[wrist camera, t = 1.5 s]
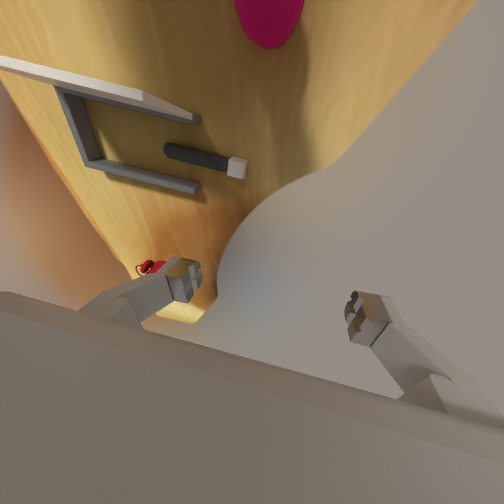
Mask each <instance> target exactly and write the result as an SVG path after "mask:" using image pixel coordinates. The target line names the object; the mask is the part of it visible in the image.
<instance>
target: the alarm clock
mask: <svg viewBox="0 0 504 504" xmlns="http://www.w3.org/2000/svg"><path fill="white" fill-rule="evenodd" d="M150 262H151V260H147V261H146V262H144V264H141V265H137V266H141V269H140V271H141V272H142V273H145V272H146V273H147V274H150V273H155V272H156V271H157V270H159V269H160V268H161V267H162V266H163V265H164V264H165V263H166V262H165V261H158V262H155V263H154V264H153V265H152V269H151V271H150V270H148V269H149V267H150V266H151V265H150V264H149V263H150ZM137 266H136V271H137ZM147 270H148V271H150V272H147ZM137 273H138V271H137ZM138 274H139V273H138ZM147 274H146V275H147ZM139 275H140V274H139ZM140 276H142V275H140Z"/></svg>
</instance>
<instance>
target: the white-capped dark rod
mask: <svg viewBox="0 0 504 504" xmlns="http://www.w3.org/2000/svg"><path fill="white" fill-rule="evenodd" d="M163 150H164V153H165V155H166V156H167V157H169V158H172V159H176V160H180V161H184V162H188V163H192V164H196V165H200V166H204V167H207V168H211V169H215V170H219V171H223V172H227V176H231V177H235V178H239V179H243V178H244V176H245V174H246V167H247V161H248V160H244V159H240V158H236V157H231V158H230V159H228V158H227V157H224V156H220V155H216V154H212V153H208V152H204V151H200V150H196V149H192V148H188V147H184V146H180V145H176V144H172V143H167V144H165V145H164V148H163Z"/></svg>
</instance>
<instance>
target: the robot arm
mask: <svg viewBox="0 0 504 504" xmlns="http://www.w3.org/2000/svg"><path fill="white" fill-rule="evenodd" d="M200 267H201V265H200V262H199V261H196V260H191V259H186V258H181V257H176V256H174V257H172V258H170V259H169V260H168V261H167V262H166V263H165V264H164V265H163V266H162V267H161V268H160V269H159V270H157V271H156V272H155V273H150V274H147V275H145V276H142V277H139V278H137V279H134V280H131V281H129V282H126V283H123V284H121V285H118V286H115V287H113V288H110V289H107V290H105V291H102V292H101V293H100V294H99V295H97V296H96V297H95V298H93V299H92V300H91V301H89V302H88V303H87V304H86V305H84V306H83V307H82V308H81V309H79V310H78V311H76V310H72V309H69V308H65V307H62V306H58V305H54V304H51V303H47V302H44V301H40V300H37V299H33V298H29V297H26V296H22V295H19V294H15V293H12V292H0V504H504V415H503V414H502V412H501V411H500V410H499V408H498V407H497V405H496V404H495V403H494V401H493V400H492V398H491V397H490V396H489V394H488V393H487V391H486V390H485V389H484V387H483V386H482V385H481V384H480V383H479V382H478V381H477V380H475V379H474V378H473V377H471V376H470V375H469V374H468V373H467V372H465V371H464V370H463V369H462V368H460V367H459V366H458V365H457V364H456V363H454V362H453V361H452V360H451V359H450V358H448V357H447V356H446V355H444V354H443V353H442V352H441V351H440V350H438V349H437V348H436V347H435V346H433V345H432V344H431V343H430V342H429V341H427V340H426V339H425V338H424V337H422V336H421V335H420V334H419V333H418V332H416V331H415V330H414V329H413V328H411V327H408V326H407V325H406V323H405V321H404V320H403V317H402V316H401V314H400V312H399V310H398V308H397V306H396V305H395V303H394V301H393V299H392V298H391V297H390V296H384V295H376V294H371V293H366V292H360V291H354V292H352V294H351V299H352V300H351V301H349V302H347V305H346V307H345V320H346V322H347V323H348V324H349V327H348V334H349V338H350V342H353V343H357V344H361V345H364V346H368V347H370V348H371V350H372V351H373V352H374V354H375V355H376V356H377V358H378V359H379V360H380V362H381V363H382V364H383V365H384V367H385V368H386V369H387V371H388V372H389V373H390V375H391V376H392V377H393V378H394V380H395V381H396V382H397V384H398V385H399V386H400V388H401V389H402V390H403V392H404V393H405V394H403V395H402V396H401V397H399V398H398V399H393V398H390V397H386V396H383V395H379V394H375V393H372V392H368V391H364V390H361V389H357V388H354V387H350V386H346V385H343V384H339V383H336V382H332V381H328V380H325V379H321V378H318V377H314V376H310V375H307V374H303V373H300V372H296V371H292V370H289V369H285V368H281V367H278V366H274V365H271V364H267V363H263V362H260V361H256V360H252V359H249V358H245V357H242V356H238V355H234V354H231V353H227V352H224V351H220V350H216V349H213V348H209V347H206V346H202V345H198V344H195V343H191V342H188V341H184V340H180V339H177V338H173V337H169V336H166V335H162V334H159V333H155V332H151V331H148V330H144V329H143V327H142V325H141V323H140V322H141V321H143V320H145V319H146V318H148V317H150V316H151V315H152V314H154V313H156V312H157V311H159V310H161V309H162V308H164V307H165V306H167V305H169V304H170V303H172V302H173V301H178V302H183V303H188V302H189V301H190V299H191V298H192V296H193V295H194V292H193V291H194V290H196V289H198V288H199V286H200V284H201V281H202V273H201V271H200V270H199V269H200Z"/></svg>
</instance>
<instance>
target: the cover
mask: <svg viewBox="0 0 504 504" xmlns="http://www.w3.org/2000/svg"><path fill="white" fill-rule="evenodd" d="M0 69H1V70H4V71H7V72H11V73H14V74H17V75H21V76H24V77H27V78H31V79H34V80H37V81H41V82H44V83H47V84H50V85H54V86H58V87H62V88H66V89H70V90H74V91H78V92H82V93H86V94H90V95H94V96H98V97H102V98H106V99H110V100H114V101H118V102H122V103H126V104H130V105H134V106H138V107H142V108H146V109H150V110H154V111H158V112H162V113H166V114H170V115H174V116H178V117H182V118H186V119H190V120H192V113H190V112H188V111H186V110H183V109H181V108H179V107H177V106H175V105H173V104H170V103H168V102H166V101H164V100H162V99H160V98H157V97H155V96H153V95H151V94H149V93H147V92H144V91H142V90H138V89H134V88H130V87H126V86H122V85H118V84H114V83H110V82H106V81H102V80H98V79H94V78H90V77H86V76H82V75H78V74H74V73H70V72H66V71H62V70H58V69H54V68H50V67H46V66H42V65H38V64H34V63H30V62H26V61H22V60H18V59H14V58H10V57H6V56H2V55H0Z"/></svg>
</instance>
